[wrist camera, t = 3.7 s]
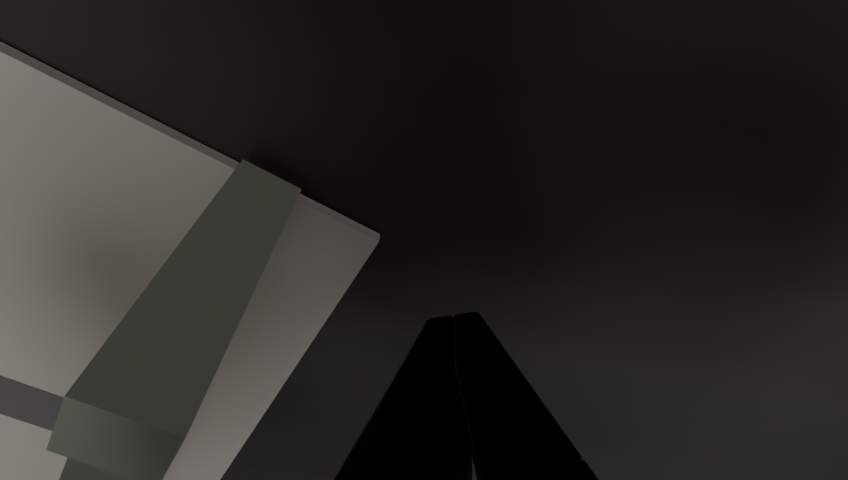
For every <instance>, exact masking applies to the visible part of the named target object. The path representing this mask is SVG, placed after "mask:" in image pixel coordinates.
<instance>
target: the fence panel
mask: <svg viewBox="0 0 848 480" xmlns="http://www.w3.org/2000/svg"><path fill="white" fill-rule="evenodd" d="M300 192H301V189H300V188H298V187H296V186H294V185H292V184H290V183H288V182H287V181H285V180H283V179H281V178H279V177H277V176H275V175H273V174H271V173H269V172H267V171H265V170H263V169H261V168H259V167H257V166H255V165H253V164H251V163H249V162H247V161H245V160H243V159H242V161H241V162H240V163H239V165H238V166H237V167H236V169H235V170H234V171H233V173H232V174H231V175H230V177H229V178H228V179H227V181H226V182H225V183H224V185H223V186H222V187H221V189H220V190H219V191H218V193H217V194H216V195H215V197H214V198H213V199H212V201H211V202H210V203H209V205H208V206H207V207H206V209H205V210H204V211H203V213H202V214H201V215H200V217H199V218H198V219H197V221H196V222H195V223H194V225H193V226H192V227H191V228H190V230H189V231H188V232H187V234H186V235H185V236H184V238H183V239H182V240H181V242H180V243H179V244H178V246H177V247H176V248H175V250H174V251H173V252H172V254H171V255H170V256H169V258H168V259H167V260H166V262H165V263H164V264H163V266H162V267H161V268H160V270H159V271H158V272H157V274H156V275H155V276H154V278H153V279H152V280H151V282H150V283H149V284H148V286H147V287H146V288H145V290H144V291H143V292H142V294H141V295H140V296H139V298H138V299H137V300H136V301H135V303H134V304H133V305H132V307H131V308H130V309H129V311H128V312H127V313H126V315H125V316H124V317H123V319H122V320H121V321H120V323H119V324H118V325H117V327H116V328H115V329H114V331H113V332H112V333H111V335H110V336H109V337H108V339H107V340H106V341H105V343H104V344H103V345H102V347H101V348H100V349H99V351H98V352H97V353H96V355H95V356H94V357H93V359H92V360H91V361H90V363H89V364H88V365H87V367H86V368H85V369H84V370H83V372H82V373H81V374H80V376H79V377H78V378H77V380H76V381H75V382H74V384H73V385H72V386H71V388H70V389H69V390H68V392H67V393H66V394H65V396H64V398H63V401H62V404H61V407H60V410H59V413H58V416H57V419H56V422H55V425H54V428H53V431H52V434H51V437H50V440H49V443H48V446H47V449H46V451H50V452H53V453H56V454H59V455H62V456H65V457H67V460H66V463H65V465H64V468H63V471H62V473H61V476H60V479H59V480H162V479H163V477H164V475H165V474H166V472H167V470H168V468H169V466H170V465H171V463H172V461H173V459H174V458H175V456H176V454H177V452H178V450H179V449H180V447H181V445H182V443H183V442H184V440H185V438H186V436H187V434H188V432H189V429H190V427H191V425H192V423H193V421H194V419H195V417H196V414H197V412H198V410H199V408H200V406H201V404H202V402H203V399H204V397H205V395H206V393H207V391H208V389H209V387H210V384H211V382H212V380H213V378H214V376H215V374H216V372H217V369H218V367H219V365H220V363H221V361H222V359H223V357H224V354H225V352H226V350H227V348H228V346H229V344H230V342H231V339H232V337H233V335H234V333H235V331H236V329H237V327H238V324H239V322H240V320H241V318H242V316H243V314H244V312H245V309H246V307H247V305H248V303H249V301H250V299H251V297H252V294H253V292H254V290H255V288H256V286H257V284H258V282H259V279H260V277H261V275H262V273H263V271H264V269H265V267H266V264H267V262H268V260H269V258H270V256H271V254H272V252H273V249H274V247H275V245H276V243H277V241H278V239H279V237H280V234H281V232H282V230H283V228H284V226H285V224H286V222H287V219H288V217H289V215H290V213H291V211H292V209H293V207H294V204H295V202H296V200H297V198H298V196H299V194H300Z"/></svg>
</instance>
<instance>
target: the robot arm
mask: <svg viewBox="0 0 848 480" xmlns="http://www.w3.org/2000/svg"><path fill="white" fill-rule="evenodd" d="M472 457H473V461H474V466H475V470H476V475H477V479H478V480H598V478H597V477H596V476H595V474H594V473H593V471H592V470H591V469H590V467H589V466H588V464H587V463H586V462H585V461H583V460H582V457H581V455H580V454H579V452H578V451H577V449H576V448H575V447H574V445H573V444H572V442H571V441H570V440H569V438H568V437H567V435H566V434H565V433H564V431H563V430H562V428H561V427H560V426H559V424H558V423H557V422H556V420H555V419H554V417H553V416H552V415H551V413H550V412H549V410H548V409H547V408H546V406H545V405H544V403H543V402H542V401H541V399H540V398H539V396H538V395H537V394H536V392H535V391H534V389H533V388H532V387H531V385H530V384H529V382H528V381H527V380H526V378H525V377H524V375H523V374H522V373H521V371H520V370H519V368H518V367H517V366H516V364H515V363H514V361H513V360H512V359H511V357H510V356H509V354H508V353H507V352H506V350H505V349H504V347H503V346H502V345H501V343H500V342H499V340H498V339H497V338H496V336H495V335H494V333H493V332H492V331H491V329H490V328H489V326H488V325H487V324H486V322H485V321H484V319H483V318H482V317H481V315H480V314H479V313H478V312H469V313H462V314H457V315H455V316H454V318H452V316H442V317H435V318H430V319H429V320H427V322H426V323H425V325H424V327H423V328H422V330H421V332H420V333H419V335H418V337H417V338H416V340H415V342H414V344H413V345H412V347H411V349H410V350H409V352H408V354H407V355H406V357H405V359H404V361H403V362H402V364H401V366H400V367H399V369H398V371H397V372H396V374H395V376H394V378H393V379H392V381H391V383H390V384H389V386H388V388H387V389H386V391H385V393H384V394H383V396H382V398H381V400H380V401H379V403H378V405H377V406H376V408H375V410H374V411H373V413H372V415H371V417H370V418H369V420H368V422H367V423H366V425H365V427H364V428H363V430H362V432H361V434H360V435H359V437H358V439H357V440H356V442H355V444H354V445H353V447H352V449H351V450H350V452H349V454H348V456H347V457H346V459H345V461H344V462H343V464H342V466H341V467H340V469H339V471H338V473H337V474H336V476H335V478H334V479H333V480H472Z"/></svg>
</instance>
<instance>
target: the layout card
mask: <svg viewBox="0 0 848 480" xmlns="http://www.w3.org/2000/svg"><path fill="white" fill-rule="evenodd" d="M238 165H239V162H237V161H235V160H233V159H231V158H229V157H227V156H225V155H223V154H221V153H219V152H217V151H215V150H213V149H211V148H210V147H208V146H206V145H204V144H202V143H200V142H198V141H196V140H194V139H192V138H190V137H188V136H186V135H184V134H182V133H180V132H178V131H176V130H174V129H172V128H170V127H168V126H166V125H164V124H162V123H160V122H158V121H156V120H154V119H152V118H150V117H148V116H146V115H144V114H143V113H141V112H139V111H137V110H135V109H133V108H131V107H129V106H127V105H125V104H123V103H121V102H119V101H117V100H115V99H113V98H111V97H109V96H107V95H105V94H103V93H101V92H99V91H97V90H95V89H93V88H91V87H89V86H87V85H85V84H83V83H81V82H79V81H77V80H76V79H74V78H72V77H70V76H68V75H66V74H64V73H62V72H60V71H58V70H56V69H54V68H52V67H50V66H48V65H46V64H44V63H42V62H40V61H38V60H36V59H34V58H32V57H30V56H28V55H26V54H24V53H22V52H20V51H18V50H16V49H14V48H12V47H10V46H9V45H7V44H5V43H3V42H1V41H0V480H59V479H60V476H61V473H62V471H63V468H64V465H65V463H66V460H67V457H65V456H62V455H59V454H56V453H53V452H50V451H46V449H47V446H48V443H49V440H50V437H51V434H52V431H53V428H54V425H55V422H56V419H57V416H58V413H59V410H60V407H61V404H62V401H63V398H64V396H65V394H66V393H67V392H68V390H69V389H70V388H71V386H72V385H73V384H74V382H75V381H76V380H77V378H78V377H79V376H80V374H81V373H82V372H83V370H84V369H85V368H86V367H87V365H88V364H89V363H90V361H91V360H92V359H93V357H94V356H95V355H96V353H97V352H98V351H99V349H100V348H101V347H102V345H103V344H104V343H105V341H106V340H107V339H108V337H109V336H110V335H111V333H112V332H113V331H114V329H115V328H116V327H117V325H118V324H119V323H120V321H121V320H122V319H123V317H124V316H125V315H126V313H127V312H128V311H129V309H130V308H131V307H132V305H133V304H134V303H135V301H136V300H137V299H138V298H139V296H140V295H141V294H142V292H143V291H144V290H145V288H146V287H147V286H148V284H149V283H150V282H151V280H152V279H153V278H154V276H155V275H156V274H157V272H158V271H159V270H160V268H161V267H162V266H163V264H164V263H165V262H166V260H167V259H168V258H169V256H170V255H171V254H172V252H173V251H174V250H175V248H176V247H177V246H178V244H179V243H180V242H181V240H182V239H183V238H184V236H185V235H186V234H187V232H188V231H189V230H190V228H191V227H192V226H193V225H194V223H195V222H196V221H197V219H198V218H199V217H200V215H201V214H202V213H203V211H204V210H205V209H206V207H207V206H208V205H209V203H210V202H211V201H212V199H213V198H214V197H215V195H216V194H217V193H218V191H219V190H220V189H221V187H222V186H223V185H224V183H225V182H226V181H227V179H228V178H229V177H230V175H231V174H232V173H233V171H234V170H235V169H236V167H237V166H238ZM379 239H380V234H379V233H377V232H375V231H373V230H371V229H369V228H367V227H365V226H363V225H361V224H359V223H357V222H355V221H353V220H351V219H349V218H347V217H345V216H344V215H342V214H340V213H338V212H336V211H334V210H332V209H330V208H328V207H326V206H324V205H322V204H320V203H318V202H316V201H314V200H312V199H310V198H308V197H306V196H304V195H302V194H299V196H298V198H297V200H296V202H295V204H294V207H293V209H292V211H291V213H290V215H289V217H288V219H287V222H286V224H285V226H284V228H283V230H282V232H281V234H280V237H279V239H278V241H277V243H276V245H275V247H274V249H273V252H272V254H271V256H270V258H269V260H268V262H267V264H266V267H265V269H264V271H263V273H262V275H261V277H260V279H259V282H258V284H257V286H256V288H255V290H254V292H253V294H252V297H251V299H250V301H249V303H248V305H247V307H246V309H245V312H244V314H243V316H242V318H241V320H240V322H239V324H238V327H237V329H236V331H235V333H234V335H233V337H232V339H231V342H230V344H229V346H228V348H227V350H226V352H225V354H224V357H223V359H222V361H221V363H220V365H219V367H218V369H217V372H216V374H215V376H214V378H213V380H212V382H211V384H210V387H209V389H208V391H207V393H206V395H205V397H204V399H203V402H202V404H201V406H200V408H199V410H198V412H197V414H196V417H195V419H194V421H193V423H192V425H191V427H190V429H189V432H188V434H187V436H186V438H185V440H184V442H183V443H182V445H181V447H180V449H179V450H178V452H177V454H176V456H175V458H174V459H173V461H172V463H171V465H170V466H169V468H168V470H167V472H166V474H165V475H164V477H163V479H162V480H220V479H221V478H222V476H223V475H224V473H225V472H226V470H227V469H228V467H229V466H230V464H231V463H232V461H233V460H234V458H235V457H236V455H237V454H238V452H239V451H240V449H241V448H242V446H243V445H244V443H245V442H246V440H247V439H248V437H249V436H250V434H251V433H252V431H253V430H254V428H255V427H256V425H257V424H258V422H259V421H260V419H261V418H262V416H263V415H264V413H265V412H266V410H267V409H268V407H269V406H270V404H271V403H272V401H273V400H274V398H275V397H276V395H277V394H278V392H279V391H280V389H281V388H282V386H283V385H284V383H285V382H286V380H287V379H288V377H289V376H290V374H291V373H292V371H293V370H294V368H295V367H296V365H297V364H298V362H299V361H300V359H301V358H302V356H303V355H304V353H305V352H306V350H307V349H308V347H309V346H310V344H311V343H312V341H313V340H314V338H315V337H316V335H317V334H318V332H319V331H320V329H321V328H322V326H323V325H324V323H325V322H326V320H327V319H328V317H329V316H330V314H331V313H332V311H333V310H334V308H335V307H336V305H337V304H338V302H339V301H340V299H341V298H342V297H343V295H344V294H345V292H346V291H347V289H348V288H349V286H350V285H351V283H352V282H353V280H354V279H355V277H356V276H357V274H358V273H359V271H360V270H361V268H362V267H363V265H364V264H365V262H366V261H367V259H368V258H369V256H370V255H371V253H372V252H373V250H374V249H375V247H376V246H377V244H378V243H379Z"/></svg>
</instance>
